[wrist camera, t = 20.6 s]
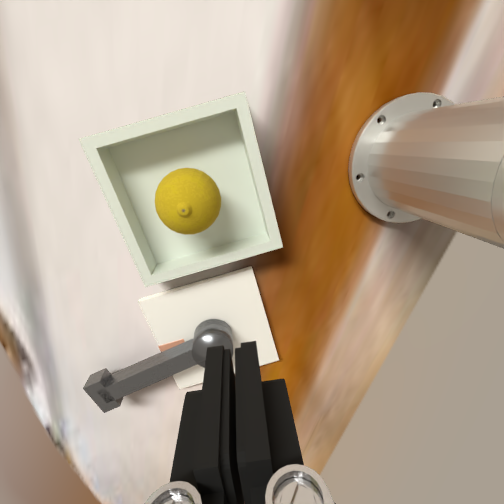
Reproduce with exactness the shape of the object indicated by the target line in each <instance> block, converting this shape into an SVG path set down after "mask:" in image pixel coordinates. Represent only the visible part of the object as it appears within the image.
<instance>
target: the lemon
mask: <svg viewBox="0 0 504 504" xmlns="http://www.w3.org/2000/svg"><path fill="white" fill-rule="evenodd" d="M155 208H156V212H157V214H158V216H159V218H160V220H161V221H162V222H163V223H164V225H165V226H167V227H168V228H169V229H170V230H172V231H175V232H177V233H180V234H185V235H188V234H196V233H200V232H202V231H204V230H206V229H207V228H209V227H210V226H211V225H212V224H213V223H214V222H215V220H216V218H217V217H218V215H219V212H220V208H221V195H220V191H219V189H218V187H217V185H216V183H215V182H214V180H213V179H212V178H211V177H210V176H209V175H207V174H206V173H204V172H203V171H200V170H198V169H195V168H180V169H177V170H174V171H172V172H170V173H169V174H168V175H166V176H165V177H164V178H163V179H162V180H161V182H160V183H159V185H158V187H157V190H156V193H155Z"/></svg>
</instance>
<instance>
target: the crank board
mask: <svg viewBox="0 0 504 504" xmlns="http://www.w3.org/2000/svg"><path fill="white" fill-rule="evenodd" d="M138 303H139V305H140V308H141V310H142V312H143V314H144V316H145V318H146V320H147V322H148V325H149V327H150V329H151V331H152V333H153V335H154V337H155V339H156V341H157V344H158V347H159V349H160V351H161V352H163V351H165V350H168V349H170V348H172V347H175V346H177V345H179V344H181V343H184V342H186V341H188V340H190V339H193V338H194V332H195V329H196V327H197V326H198V325H199V324H200V323H201V322H203V321H205V320H208V319H219V320H222V321H224V322H226V323H227V324H228V325H229V326H230V328H231V330H232V337H233V356H232V362H233V368H234V373H235V348H239V347H241V343H243V342H251V341H256V344H257V352H258V359H259V366H261V365H265V364H268V363H271V362H275V361H278V360H279V358H278V354H277V351H276V347H275V344H274V341H273V337H272V334H271V330H270V327H269V324H268V320H267V317H266V313H265V310H264V307H263V303H262V300H261V296H260V293H259V290H258V286H257V283H256V279H255V276H254V272H253V269H252V266H250V267H247V268H243V269H240V270H236V271H233V272H229V273H226V274H223V275H219V276H216V277H212V278H209V279H205V280H202V281H198V282H195V283H192V284H188V285H185V286H181V287H178V288H174V289H171V290H167V291H164V292H161V293H157V294H154V295H150V296H147V297H143V298H140V299H139V301H138ZM204 370H205V368H204V367H201V366H200V365H198V364H197V365H195V366H192V367H190V368H188V369H186V370H183V371H181V372H179V373H176V374H174V375H173V378H174V380H175V382H176V384H177V386H178V388H179V389H182V388H186V387H189V386H193V385H196V384H200V383H203V378H204Z"/></svg>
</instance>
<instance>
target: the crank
mask: <svg viewBox="0 0 504 504" xmlns="http://www.w3.org/2000/svg"><path fill="white" fill-rule="evenodd" d="M221 345H223V346H224V349H230V350H231V356H233V337H232V330H231V328H230V326H229V325H228V324H227V323H226V322H224V321H222V320H219V319H208V320H205V321H203V322H201V323H200V324H199V325H198V326H197V327H196V329H195V332H194V338H193V339H190V340H188V341H186V342H184V343H181V344H179V345H177V346H175V347H172V348H170V349H168V350H165V351H163V352H161V353H159V354H156V355H154V356H152V357H149V358H147V359H145V360H143V361H140V362H138V363H136V364H134V365H131V366H129V367H127V368H124V369H122V370H120V371H118V372H115V373H113V374H110V373H109V371H108V370H107V369H106V368H105V369H103V370H101V371H99V372H96V373H94V374H92V375H90V377H89V379H88V380H87V382H86V384H85V386H84V388H83V389H84V390H85V391H86V393H87V394H88V395H89V396H90V397H91V398H92V399H93V401H94V402H95V403H96V404H97V405H98V406H99V407H100V409H101V410H102V411H103V412H104V413H105V412H107V411H110V410H112V409H114V408H117V407H119V406H120V405H121V402H122V400H123V397H124V396H126V395H128V394H130V393H133V392H135V391H137V390H139V389H142V388H144V387H146V386H149V385H151V384H153V383H156V382H158V381H160V380H162V379H165V378H167V377H169V376H172V375H174V374H176V373H179V372H181V371H183V370H186V369H188V368H190V367H192V366H195V365H197V364H198V365H200V366H201V367H204V368H205V361H206V352H207V348H208V347H214V346H221Z"/></svg>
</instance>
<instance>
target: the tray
mask: <svg viewBox="0 0 504 504" xmlns="http://www.w3.org/2000/svg"><path fill="white" fill-rule="evenodd" d="M79 141H80V143H81V146H82V148H83V150H84V152H85V154H86V157H87V159H88V161H89V163H90V166H91V168H92V170H93V172H94V174H95V177H96V179H97V181H98V183H99V185H100V188H101V190H102V192H103V194H104V197H105V199H106V201H107V203H108V205H109V208H110V210H111V212H112V214H113V217H114V219H115V221H116V223H117V225H118V228H119V230H120V232H121V234H122V236H123V239H124V241H125V243H126V245H127V248H128V250H129V252H130V254H131V256H132V259H133V261H134V263H135V265H136V268H137V270H138V272H139V274H140V276H141V279H142V281H143V283H144V285H145V287H148V286H151V285H155V284H158V283H162V282H165V281H169V280H172V279H176V278H179V277H183V276H186V275H189V274H193V273H196V272H200V271H203V270H207V269H210V268H214V267H217V266H220V265H224V264H227V263H231V262H234V261H238V260H241V259H245V258H248V257H252V256H255V255H258V254H262V253H265V252H269V251H272V250H276V249H279V248H283V245H282V241H281V237H280V233H279V229H278V225H277V221H276V217H275V213H274V208H273V204H272V200H271V196H270V192H269V188H268V184H267V180H266V176H265V172H264V168H263V163H262V159H261V155H260V151H259V147H258V143H257V139H256V135H255V131H254V127H253V123H252V118H251V114H250V110H249V106H248V102H247V98H246V94H245V92H241V93H238V94H234V95H231V96H227V97H224V98H220V99H217V100H213V101H210V102H206V103H203V104H199V105H196V106H192V107H189V108H185V109H182V110H178V111H175V112H171V113H168V114H164V115H161V116H157V117H154V118H150V119H147V120H143V121H140V122H136V123H133V124H129V125H126V126H122V127H119V128H115V129H112V130H108V131H105V132H102V133H98V134H95V135H91V136H88V137H84V138H81V139H79ZM180 168H195V169H198V170H200V171H203V172H204V173H206V174H207V175H209V176H210V177H211V178H212V179H213V180H214V182H215V183H216V185H217V187H218V189H219V191H220V195H221V208H220V212H219V215H218V217H217V218H216V220H215V222H214V223H213V224H212V225H211V226H210V227H209V228H207V229H206V230H204V231H202V232H200V233H196V234H188V235H185V234H180V233H177V232H175V231H172V230H170V229H169V228H168V227H167V226H165V225H164V223H163V222H162V221H161V220H160V218H159V216H158V214H157V212H156V208H155V193H156V190H157V187H158V185H159V183H160V182H161V180H162V179H163V178H164V177H165V176H166V175H168V174H169V173H170V172H172V171H174V170H177V169H180Z"/></svg>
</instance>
